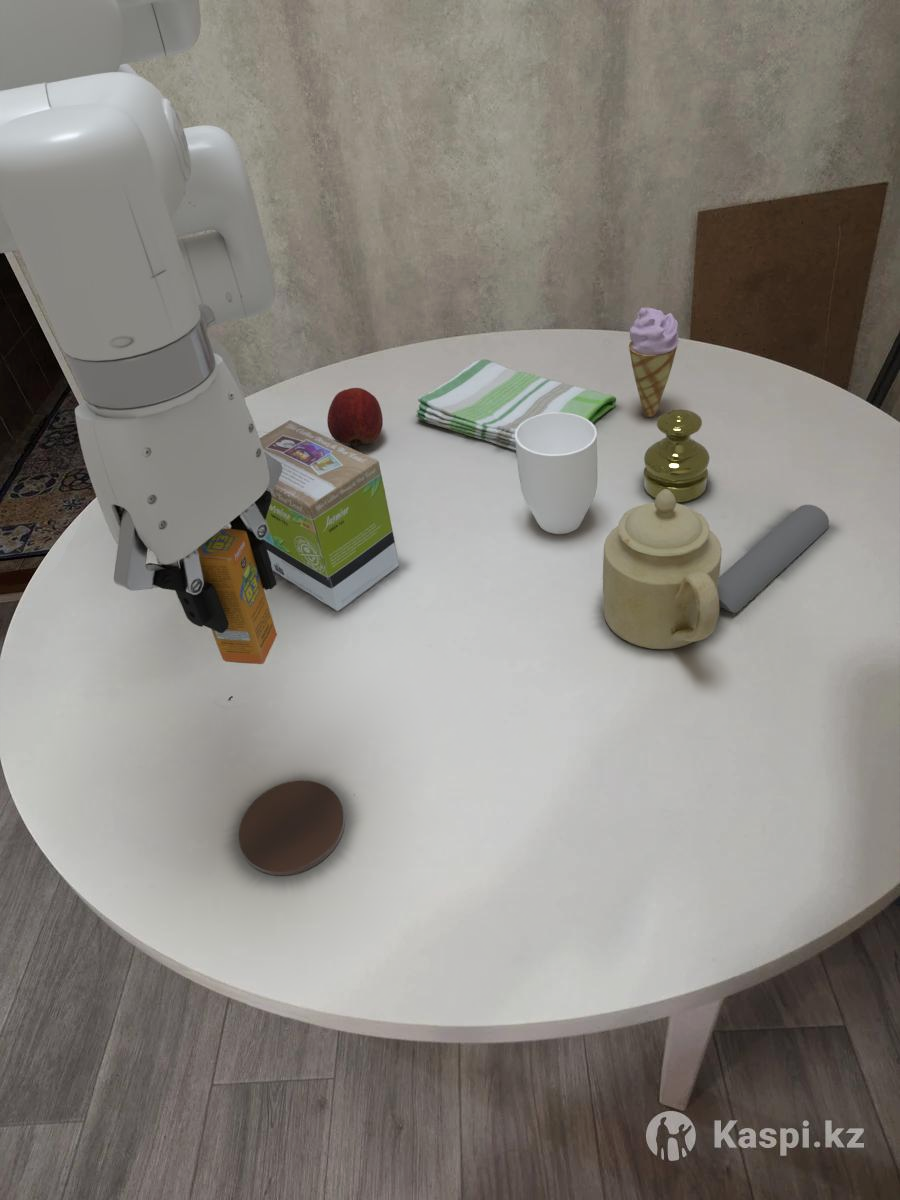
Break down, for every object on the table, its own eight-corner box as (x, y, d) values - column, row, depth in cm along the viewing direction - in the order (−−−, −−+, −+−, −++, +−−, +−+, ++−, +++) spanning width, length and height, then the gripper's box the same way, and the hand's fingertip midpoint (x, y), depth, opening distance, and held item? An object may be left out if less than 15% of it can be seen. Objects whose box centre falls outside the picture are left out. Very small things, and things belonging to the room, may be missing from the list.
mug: (583, 550, 97) (581, 459, 89) (509, 537, 100) (502, 447, 92) (614, 492, 104) (615, 403, 96) (544, 481, 108) (540, 394, 100)
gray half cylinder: (831, 526, 95) (834, 512, 94) (731, 619, 86) (733, 605, 85) (795, 511, 97) (797, 498, 96) (694, 600, 88) (696, 587, 87)
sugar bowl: (770, 629, 85) (794, 503, 75) (697, 689, 80) (714, 563, 70) (650, 563, 94) (658, 443, 84) (579, 613, 89) (579, 492, 79)
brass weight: (637, 500, 102) (640, 426, 96) (649, 466, 107) (653, 393, 101) (701, 508, 100) (708, 432, 93) (710, 472, 105) (718, 398, 98)
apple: (398, 434, 120) (388, 382, 115) (364, 463, 115) (353, 410, 110) (356, 424, 123) (345, 373, 118) (322, 451, 119) (309, 399, 114)
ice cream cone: (621, 404, 119) (623, 298, 109) (666, 398, 119) (672, 291, 109) (633, 429, 114) (636, 320, 104) (679, 422, 114) (687, 313, 104)
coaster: (218, 845, 73) (216, 841, 73) (288, 769, 78) (286, 765, 78) (297, 894, 69) (296, 890, 68) (366, 810, 74) (364, 806, 74)
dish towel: (484, 370, 131) (482, 348, 129) (618, 403, 119) (619, 380, 117) (413, 423, 122) (409, 400, 120) (551, 465, 110) (550, 441, 108)
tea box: (254, 564, 102) (217, 457, 92) (318, 521, 107) (290, 415, 97) (337, 615, 93) (307, 504, 83) (403, 566, 98) (382, 455, 88)
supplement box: (267, 666, 62) (226, 559, 55) (223, 663, 62) (177, 557, 56) (282, 633, 64) (245, 527, 57) (239, 631, 65) (198, 525, 58)
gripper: (203, 293, 55) (275, 523, 67) (-24, 420, 45) (107, 663, 57) (292, 309, 51) (350, 549, 63) (65, 451, 42) (185, 703, 54)
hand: (234, 601), depth 60 cm, fingers closed on supplement box, 4 cm apart
